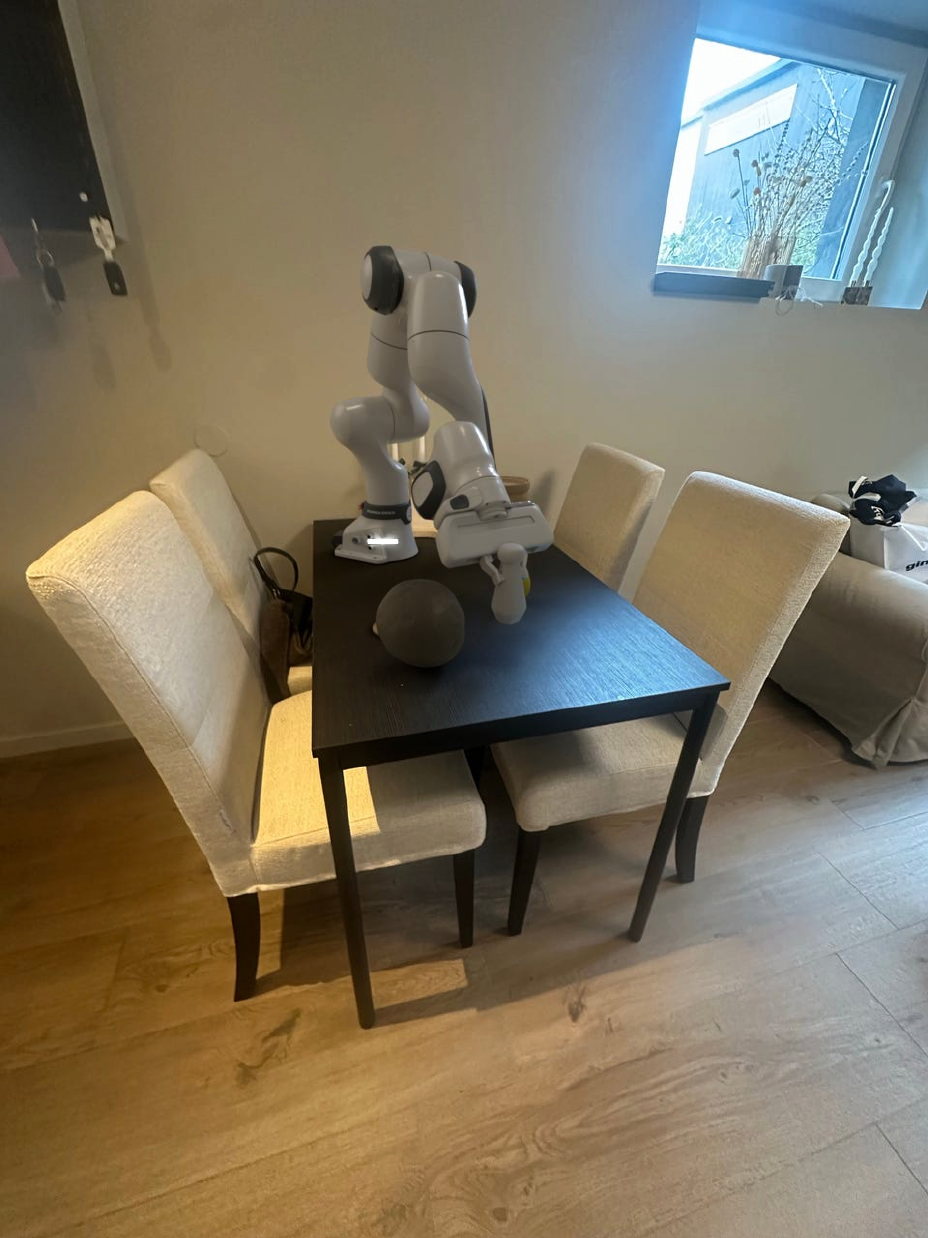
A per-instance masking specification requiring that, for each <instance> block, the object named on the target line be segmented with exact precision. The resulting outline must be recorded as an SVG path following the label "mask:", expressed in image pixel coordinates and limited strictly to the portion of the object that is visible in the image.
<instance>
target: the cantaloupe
mask: <svg viewBox="0 0 928 1238" xmlns="http://www.w3.org/2000/svg"><path fill="white" fill-rule="evenodd" d="M465 620H466V618H465V614H464V610H463V607H462V605H461V604H460V601H459V600H458V599H457V597H456V594H454V593H453V591H451V590H450V589H449V588H448V587H447V586H445V585H443V584H442V583H440V582H438V581H435V580H432V579H431V580H430V579H424V578H417V579H416V578H415V579H409V580H405V581H402V582H399V583H398V584H396V585H395V586H393V587H392V588H391V589H390V590H389V591H388V592H387V593H386V594H385V596H384V597H383V598H382V599H381V602H380V603H379V605H378V608H377V611H376V615H375V622H376V627H377V632H378V634H379V636H378V637H379V638H380V639H379V640H381V642H382V644H383V646H384V648H385V649H386V650H387V652H389V654H390V655H391V656H393V657H394V658H396V659H397V660H399V661H400V662H402V663H404V664H407V665H409V666H413V667H417V668H426V669H427V668H429V669H430V668H436V667H439V666H443V665H444V664H446V663H448V662H450V661H452V660H453V659H454V658H455V657H456V656H457V655H458V653H459V652H460V651H461V649H462V647H463V645H464V642H465V637H466V631H465V625H466V621H465Z"/></svg>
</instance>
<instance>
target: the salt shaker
mask: <svg viewBox="0 0 928 1238" xmlns="http://www.w3.org/2000/svg"><path fill="white" fill-rule="evenodd" d="M497 556H498V559H497V560H498V561H500V562H499V567H498V571H502V575H503V576H504V577H505V581H504V582H502V583H501V584H499V585H494V586H495V587H494V591H493V595H492V599H491V605H490V607H491V610H492V612H493V615H494V618H495V619H496V620H497V621H498V622H499V624H506V625H513V624H516V623H520V621H521V619H522V618H523V615H524V614H525V612H526V610H527V602H526V601H527V600H526V598H525V594H524V587H523V581H522V574H521V567H520V562H521V561H523V559H524V557H525V549H524V548H523V547H522V546H521V545H519V544H515V543H507V544H503V545H501V546H500V547H499V548H498V552H497Z"/></svg>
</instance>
